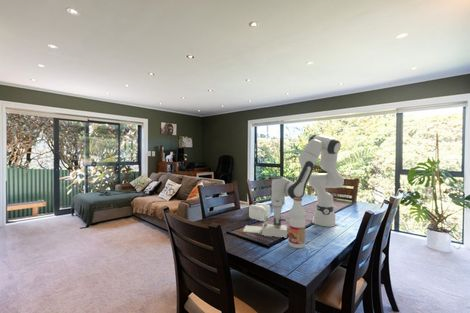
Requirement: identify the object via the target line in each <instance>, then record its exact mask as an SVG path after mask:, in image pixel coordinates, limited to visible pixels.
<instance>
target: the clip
mask: <svg viewBox="0 0 470 313" xmlns="http://www.w3.org/2000/svg"><path fill="white" fill-rule="evenodd" d="M267 217H268V211H265V213H264V221H263V224H264V226H267V224H268V219H267Z"/></svg>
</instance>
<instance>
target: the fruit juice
mask: <svg viewBox="0 0 470 313" xmlns="http://www.w3.org/2000/svg"><path fill="white" fill-rule="evenodd" d="M292 200H293V204H292V206H291V208H290V209H289V212H288V213H289V219H288V241H287V242H288V245H289V247H291V248H295V249H303V248H305V245H306V220H305V217H306V211H305V209H304V207H303V204H302V201H303V197H302V198H299V197H294V198H293V199H292Z"/></svg>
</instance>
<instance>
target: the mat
mask: <svg viewBox="0 0 470 313" xmlns="http://www.w3.org/2000/svg"><path fill="white" fill-rule="evenodd" d="M261 230H262V226H256V225H247V224H246V225H245V226H244V228H243V229H242V233H245V232H246V234H255V233H258V234H259V235H262V231H261ZM258 234H257V235H258Z"/></svg>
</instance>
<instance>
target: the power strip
mask: <svg viewBox="0 0 470 313" xmlns="http://www.w3.org/2000/svg"><path fill="white" fill-rule="evenodd" d="M261 227H262V231H261V236H262V235H264V236H263V237H272V236H275V238H282V237H284V239H287V238H288V226H287V225H283V224H281V226H279V228H276V226H274V223H273V224H270V223H267V226H264V223H262V226H261Z"/></svg>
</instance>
